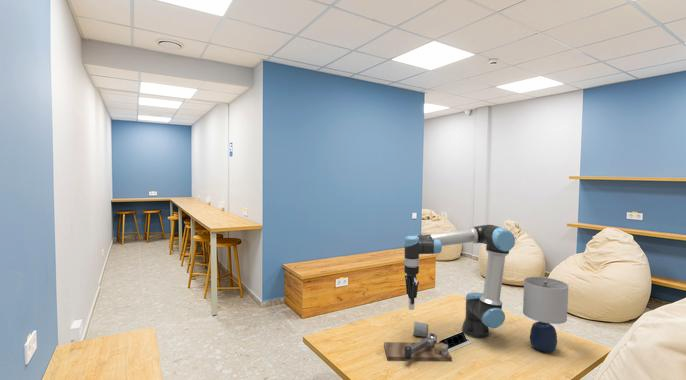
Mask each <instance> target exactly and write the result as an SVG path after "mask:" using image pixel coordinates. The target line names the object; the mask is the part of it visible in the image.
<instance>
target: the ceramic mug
mask: <svg viewBox="0 0 686 380" xmlns="http://www.w3.org/2000/svg"><path fill="white" fill-rule="evenodd" d="M413 323H414V324H413V336H414V337H423V338H427V335H428V334H429V324H428V323H425V322H419V321H414V322H413Z"/></svg>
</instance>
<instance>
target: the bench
mask: <svg viewBox="0 0 686 380" xmlns="http://www.w3.org/2000/svg"><path fill="white" fill-rule="evenodd" d="M416 343H417V342H410V341H409V342H405V341H404V342H399V341H391V342H390V341H389V342H388V341H386V342H383V348H384V351H385V355H386V360H387V361H388V362H390V361H392V362H393V361H394V362H399V361H400V362H403V361H404V362H452V361H453V357H452V355H451V354H450V352H449V345H448V344H446V343H444V342H437V343H435V344H441V345H442V350H441V354H436V353H435V344H433V345H432V346H430V347H429V346H426V347H424V348H422V349H421V350H419V351H417V352H416V353H414V354H412V355H411V359H405V357H404V356H405V346H410V347H411V346H413V345H414V344H416Z"/></svg>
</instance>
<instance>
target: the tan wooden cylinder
mask: <svg viewBox="0 0 686 380" xmlns="http://www.w3.org/2000/svg"><path fill="white" fill-rule="evenodd" d="M441 350H442V345H441V344H435V353H436V354H441Z"/></svg>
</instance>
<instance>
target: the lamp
mask: <svg viewBox="0 0 686 380" xmlns="http://www.w3.org/2000/svg"><path fill="white" fill-rule="evenodd" d="M568 301H569V284H568V283H566V282H565V281H563V280H559V279H556V278H550V277H544V276H543V277H541V276H527V277H525V278H524V279H523V303H522V313H523V315H524V316H526V317H527V318H529V319H531V320H533V321H535V322H533V323H532V325H531V328H530V331H529V332H530V333H529V341H530V344H531V346H532V347H533V348H534V349H536V350H537V351H539V352H541V353H542V352H543V353H552V352H554V351H555V350H556V349H557V346H558V336H557V335H558V334H557V333H558V332H557V330H556V328H555V326H553V325H558V324H559V325H560V324H565V323H566V322H567V321H568V307H569V306H568V304H569V303H568Z"/></svg>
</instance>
